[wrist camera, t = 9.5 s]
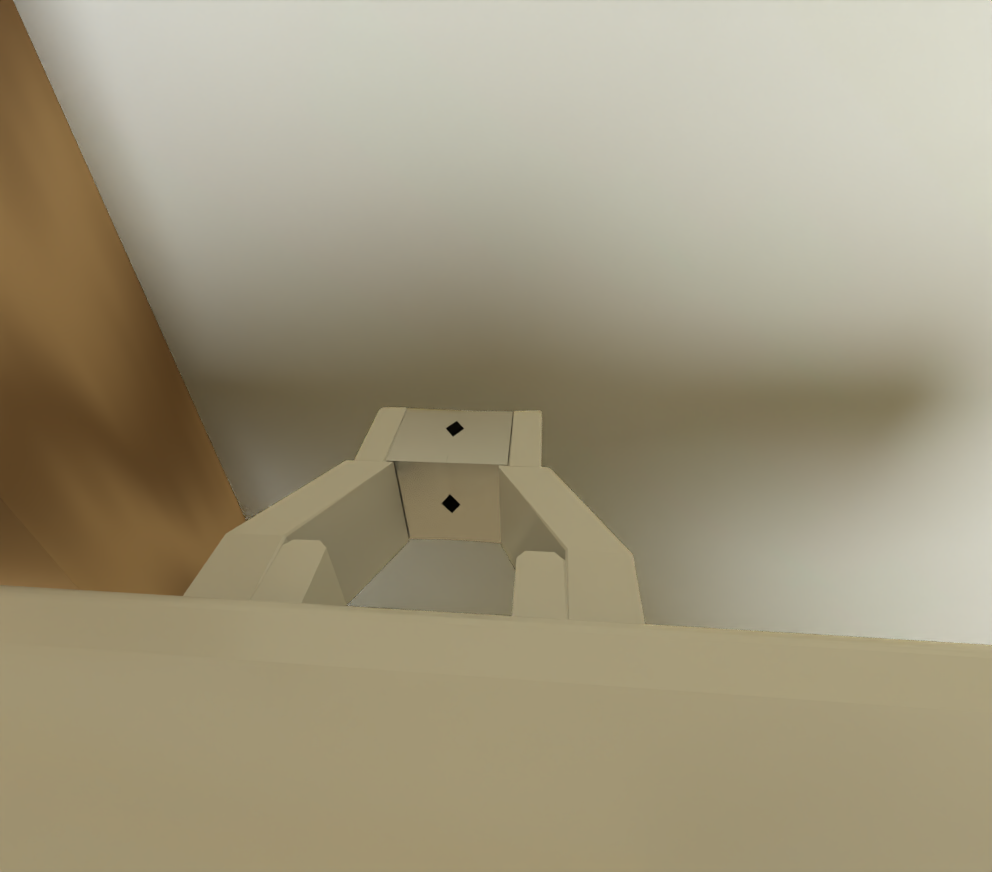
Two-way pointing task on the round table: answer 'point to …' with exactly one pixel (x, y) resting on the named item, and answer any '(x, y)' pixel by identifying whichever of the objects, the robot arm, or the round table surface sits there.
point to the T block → (86, 377)
